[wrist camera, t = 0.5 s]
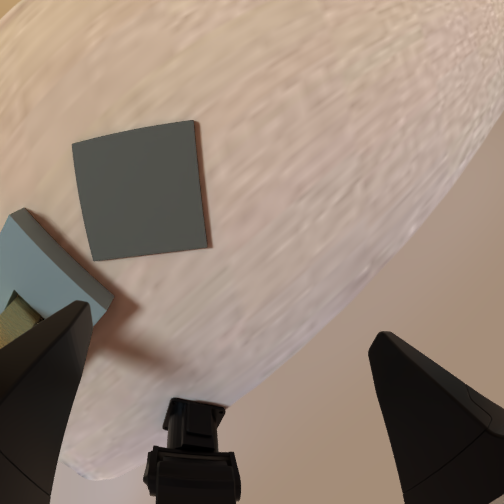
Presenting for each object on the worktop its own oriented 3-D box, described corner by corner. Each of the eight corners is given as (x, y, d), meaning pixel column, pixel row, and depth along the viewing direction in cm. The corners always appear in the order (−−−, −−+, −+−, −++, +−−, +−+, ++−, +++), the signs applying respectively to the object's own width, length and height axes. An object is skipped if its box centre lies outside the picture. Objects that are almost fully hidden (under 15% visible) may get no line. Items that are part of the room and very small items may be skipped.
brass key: (56, 311, 24) (-6, 408, 12) (45, 327, 25) (-11, 420, 12) (21, 278, 23) (-55, 360, 10) (12, 296, 23) (-56, 377, 11)
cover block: (114, 296, 25) (106, 310, 22) (50, 373, 27) (43, 387, 25) (24, 207, 20) (9, 214, 18) (-21, 308, 23) (-31, 318, 21)
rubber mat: (207, 245, 24) (207, 247, 24) (95, 259, 23) (93, 261, 23) (193, 120, 20) (193, 119, 20) (73, 143, 19) (71, 144, 19)
